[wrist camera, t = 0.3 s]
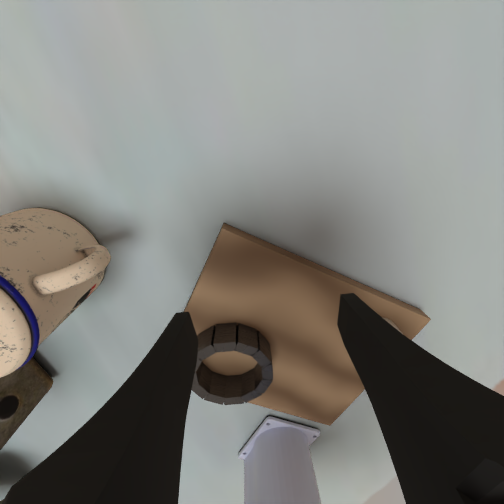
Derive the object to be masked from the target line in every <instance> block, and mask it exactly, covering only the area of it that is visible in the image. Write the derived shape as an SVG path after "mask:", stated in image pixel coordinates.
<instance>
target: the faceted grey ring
mask: <svg viewBox="0 0 504 504" xmlns="http://www.w3.org/2000/svg"><path fill="white" fill-rule="evenodd" d="M197 337H198V354H197V363H196V369H195V374H194V379H193V384H192V389H191V390H192V391H194V392H195V393H196V394H197V395H198V396H200V397H201V398H202V399H203V398H204V400H207V401H211V402H214V403H218V404H221V405H222V404H223V403H224V404H225V405H230V404H242V403H244V401H245V402H246V403H247V402H249V401H251V400H253V399H255V398H257V397H259V396H261V395H262V393H263V394H264V393H265V391H266V390H267V388H268V387H269V386H270V384H271V383H272V382H273V364H272V357H271V349H270V344H269V342H268V341H267V339H266V338H265V337H264V336H263V335H262V334H261V333H260V331H259V330H258V331H257V329H255V328H252V327H249V326H247V325H244V324H241V323H238V325H237V324H236V322H235V323H223V324H216V326H215V325H213V326H211V327H209V328H208V329H206V330H204V331H202V332H201V333H199V334H198V336H197ZM227 351H237V352H240V353H243V354H246V355H249V356H252V357H253V358H254V359H255V360H256V361H257V362H258V363H257V364H256V366H255V367H254V368H253V369H251V370H249V371H247V372H245V373H243V374H241V375H229V376H226V375H223V374H219V373H216V372H213V371H211V370H210V369H209V368H208V367H207V366H206V365H205V364H204V363H203V361H202V360H204V359H206V358H207V357H209V356H211V355H213V354H215V353H216V352H227Z"/></svg>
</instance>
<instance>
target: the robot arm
mask: <svg viewBox="0 0 504 504" xmlns="http://www.w3.org/2000/svg"><path fill="white" fill-rule="evenodd" d="M337 326H338V329H339V332H340V335H341V338H342V340H343V343H344V346H345V348H346V350H347V352H348V354H349V357H350V359H351V361H352V363H353V365H354V367H355V369H356V371H357V373H358V375H359V377H360V379H361V382H362V384H363V386H364V388H365V390H366V392H367V394H368V396H369V399H370V401H371V403H372V406H373V409H374V411H375V414H376V417H377V419H378V422H379V425H380V427H381V430H382V433H383V436H384V439H385V441H386V444H387V447H388V450H389V453H390V456H391V459H392V462H393V465H394V468H395V471H396V474H397V477H398V479H399V482H400V485H401V489H402V492H403V495H404V498H405V501H406V504H504V396H502V395H500V394H499V393H497V392H495V391H493V390H491V389H489V388H487V387H485V386H484V385H482V384H480V383H478V382H476V381H474V380H473V379H471V378H469V377H468V376H466V375H464V374H462V373H461V372H459V371H457V370H455V369H454V368H452V367H450V366H449V365H447V364H446V363H444V362H442V361H441V360H439V359H438V358H436V357H435V356H433V355H432V354H430V353H429V352H427V351H426V350H424V349H423V348H421V347H420V346H418V345H417V344H416V343H414V342H413V341H411V340H410V339H409V338H407V337H406V336H405V335H403V334H402V333H401V332H399V331H398V330H397V329H396V328H394V327H393V326H392V325H391V324H389V323H388V322H387V321H386V320H385V319H383V318H382V317H381V316H380V315H379V314H377V313H376V312H375V311H374V310H373V309H372V308H370V307H369V306H368V305H367V304H366V303H365V302H364V301H362V300H361V299H360V298H359V297H358V296H357V295H355V294H354V293H348V294H340V303H339V312H338V321H337ZM197 354H198V337H197V334H196V331H195V328H194V325H193V322H192V319H191V316H190V313H189V312H181V313H176V314H175V315H174V317H173V318H172V320H171V321H170V323H169V324H168V326H167V327H166V329H165V330H164V332H163V333H162V334H161V336H160V337H159V339H158V340H157V342H156V343H155V344H154V346H153V347H152V349H151V350H150V351H149V353H148V354H147V355H146V357H145V358H144V359H143V361H142V362H141V363H140V364H139V366H138V367H137V368H136V369H135V371H134V372H133V373H132V374H131V376H130V377H129V378H128V379H127V380H126V382H125V383H124V384H123V385H122V386H121V387H120V388H119V389H118V391H117V392H116V393H115V394H114V395H113V396H112V397H111V398H110V399H109V400H108V401H107V402H106V403H105V404H104V406H103V407H102V408H101V409H100V410H99V411H98V412H97V413H96V414H95V415H94V416H93V417H92V418H91V419H90V420H89V421H88V422H87V423H86V424H84V425H83V426H82V427H81V428H80V429H79V430H78V431H77V432H76V433H75V434H74V435H73V436H71V437H70V438H69V439H68V440H67V441H66V442H65V443H64V444H63V445H61V446H60V447H59V448H58V449H57V450H56V451H55V452H53V453H52V454H51V455H50V456H49V457H47V458H46V459H45V460H44V461H43V462H41V463H40V464H39V465H38V466H37V467H35V468H34V469H33V470H32V471H30V472H29V473H28V474H27V475H26V476H24V477H23V478H22V479H21V480H20V481H18V482H17V483H16V484H14V485H13V486H12V487H11V489H10V490H9V492H8V494H7V495H6V497H5V499H4V500H3V502H2V504H178V496H179V482H180V470H181V459H182V448H183V439H184V430H185V421H186V415H187V409H188V404H189V399H190V394H191V389H192V384H193V379H194V374H195V369H196V363H197ZM319 435H320V431H319V430H318V429H314V428H311V427H307V426H303V425H300V424H296V423H293V422H289V421H285V420H282V419H278V418H275V417H271V416H269V417H267V418H266V419H265V420H264V421H263V423H262V424H261V425H260V427H259V428H258V429H257V431H256V432H255V433H254V434H253V436H252V437H251V438H250V440H249V441H248V442H247V443H246V445H245V446H244V447H243V449H242V450H241V451H240V453H239V454H238V458H239V459H242V460H244V504H321V499H320V495H319V490H318V486H317V481H316V476H315V472H314V467H313V463H312V458H311V454H310V449H309V446H310V445H311V444H312V443H313V442H314V441H315V440H316V438H317V437H318V436H319Z"/></svg>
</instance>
